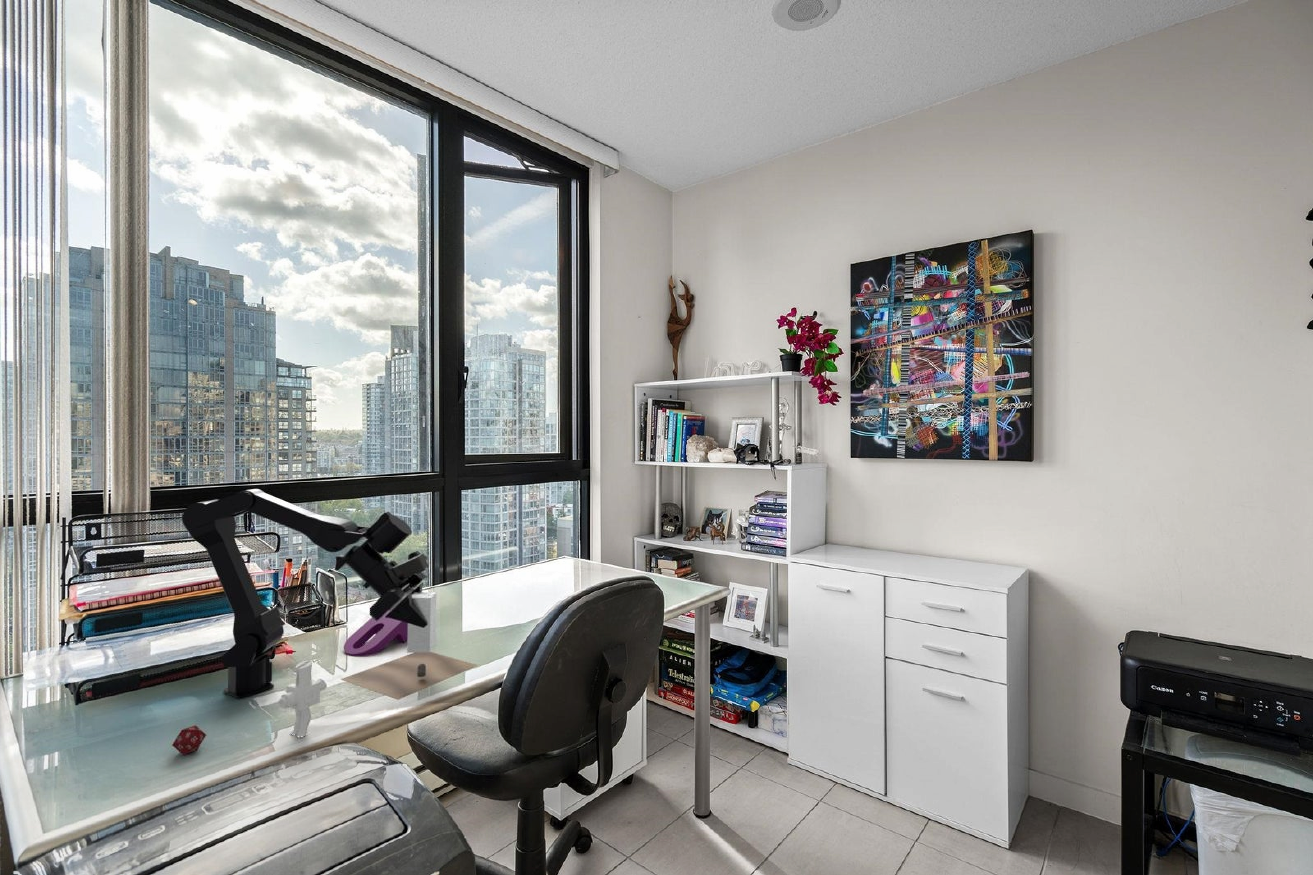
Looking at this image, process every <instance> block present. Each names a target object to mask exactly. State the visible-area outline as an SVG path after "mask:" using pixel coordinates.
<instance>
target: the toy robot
mask: <svg viewBox="0 0 1313 875" xmlns="http://www.w3.org/2000/svg"><path fill="white" fill-rule="evenodd" d="M312 665H313V662H312V661H311V660H304V661H301V662H299V663H297V664H296V666H295V677H296V678H295V682H292V683H291V684H288V685H286V693H284V694H282V695H281V696H280V699H279V700H278V705H279V707H280V708H283V709H285V710H288V709H289V708H291V709H294V711H295V717H296V718H295V721H294V725H293V730H292V732H290V734H293V736H295V735H294V734H297V735H296V736H299V737H301V736H305V735H306V734H307V735H308V728H309V726H310V725H309V724H310V722H311V719H312V715H311V709H310V707H312V706H316V705H318V704H319V703H321V692H322V691H324V690H326V689H327V687H328V686H327V682H326V681H325V680H324V679H322V678H318V679H316V680H314V679H312V668H313V666H312ZM307 735H306V736H307ZM306 736H305V737H306Z"/></svg>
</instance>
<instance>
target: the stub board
mask: <svg viewBox="0 0 1313 875" xmlns="http://www.w3.org/2000/svg"><path fill="white" fill-rule="evenodd" d="M477 666H478V664H475V663H471V662H468V661H464V660H462V659H458V658H454V657H452V656H451V657H450V656H446V655H443V654H439V653H436V652H433V651H430V652H415V653H409V654H405V655H404V656H401V657H398V658H396V659H393V660H390V661H386V662H385V663H382V664H381V663H380V664H378V665H377V666H373V667H371V668H368V669H365V670H363V671H359V672H357V673H354V674H351V675H349V676H346V677H343V678H341V680H342V681H345V682H347V683H350V684H352V685H356V686H359V687H362V688H364V689H367V690H369V691H373V692H375V693H378V694H382V695H383V696H387V697H389V698H392V699H394V700H401V699H403V698H405V697H407V696H410V695H412V694H414V693H417V692H419V691H422V690H424V689H427V688H428V687H430V686H433V685H435V684H438V683H440V682H442V681H445V680H447V679H449V678H452V677H454V676H456V675H458V674H461V673H464V672H466V671H467V670H471V669H473V668H474V667H477Z"/></svg>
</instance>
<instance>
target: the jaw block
mask: <svg viewBox="0 0 1313 875" xmlns="http://www.w3.org/2000/svg"><path fill="white" fill-rule="evenodd" d="M412 604H413V605H414V606H415V608H416V609H417V610H418V611H419V613H420V614H421V615H422V616H423V618H424V619H425V621H426V622H427V625H426V626H425V627H424V628H422V627H418V626H415V625H412V624H409V623H408V639H407V642H406V644H407V645H406V646H407V647H406V649H407V652H406V653H407V654H408V653H409V654H412V653H415V652H432V650H433V649H434V647H435V646H436V645H437V644H436V641H437V640H436V637H437V636H436V635H437V630H436V629H437V625H436V624H437V592H433V591H431V592H427V591H426V592H423V591H422V592H415V593H414V594H412Z"/></svg>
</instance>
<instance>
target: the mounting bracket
mask: <svg viewBox="0 0 1313 875" xmlns="http://www.w3.org/2000/svg"><path fill="white" fill-rule="evenodd" d="M389 612H390V611H389V610H388V611H387V612H386V613H385V614H384V615H383V616H382V617H381V618H380V619H379V620H378V621H376V620H374V619H373V618H372V617H370V619H368V620H367V621H366V622H365V623H363V625H362V626H359V628H358V629H357V630H355V632H354V633H352V635H350V636H349V637H348V638H347V640H345V642H344V644H343V651H344V652H345V654H346V655H349V656H353V657H360V656H370V655H375V654H378V653H379V652H381V651H382V650H383V649H384V648H385V647H387V646H388V644H389V643H391V642H392V641H393V640H396V641H397V642H399V643H406V644H407V639H408V623H406V622H402V621H399V620H395V619H391V618H385V616H386V615H387V614H388V613H389Z"/></svg>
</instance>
